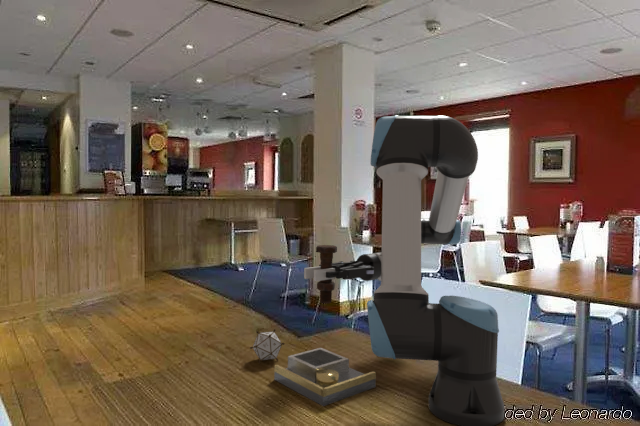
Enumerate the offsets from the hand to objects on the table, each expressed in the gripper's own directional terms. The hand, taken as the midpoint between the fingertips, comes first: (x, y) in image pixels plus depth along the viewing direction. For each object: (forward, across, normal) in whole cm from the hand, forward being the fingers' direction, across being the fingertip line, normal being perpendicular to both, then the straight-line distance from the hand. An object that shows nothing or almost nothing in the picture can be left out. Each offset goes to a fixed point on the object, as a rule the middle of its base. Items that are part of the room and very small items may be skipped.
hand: (310, 274), depth 124 cm
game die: (+6, +10, -24) cm, 27 cm away
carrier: (+4, -10, -24) cm, 26 cm away
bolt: (-5, 0, -8) cm, 10 cm away
